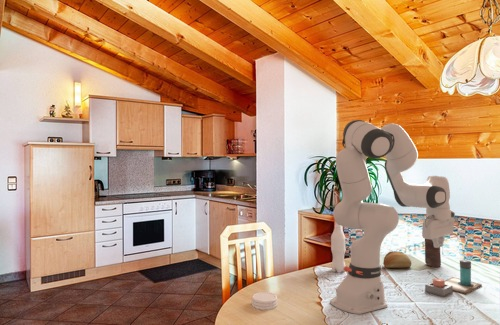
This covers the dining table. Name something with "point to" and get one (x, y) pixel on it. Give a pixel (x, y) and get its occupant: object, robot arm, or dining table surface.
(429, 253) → the candle
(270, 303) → the coaster
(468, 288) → the clipboard
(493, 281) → the dining table surface
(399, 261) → the bread roll
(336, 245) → the water bottle
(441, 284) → the button
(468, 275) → the teal spice jar
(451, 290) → the button housing
